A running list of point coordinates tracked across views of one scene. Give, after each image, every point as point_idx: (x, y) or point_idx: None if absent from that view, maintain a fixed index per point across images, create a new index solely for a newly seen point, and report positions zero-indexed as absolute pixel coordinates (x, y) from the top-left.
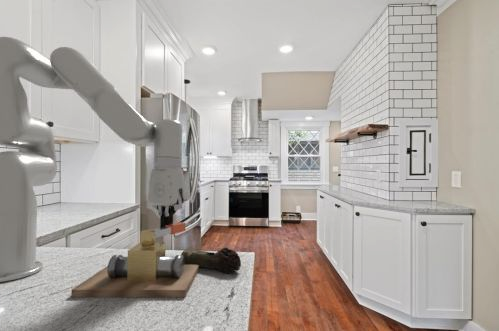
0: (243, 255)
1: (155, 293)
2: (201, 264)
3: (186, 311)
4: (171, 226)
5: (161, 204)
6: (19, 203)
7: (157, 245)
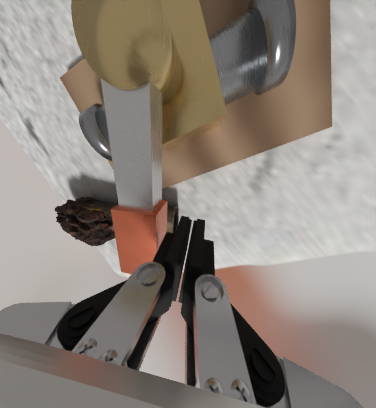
0: None
1: None
2: None
3: (29, 31)
4: (120, 209)
5: (95, 382)
6: None
7: None
